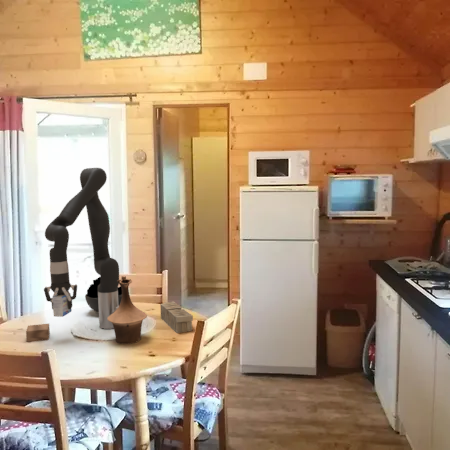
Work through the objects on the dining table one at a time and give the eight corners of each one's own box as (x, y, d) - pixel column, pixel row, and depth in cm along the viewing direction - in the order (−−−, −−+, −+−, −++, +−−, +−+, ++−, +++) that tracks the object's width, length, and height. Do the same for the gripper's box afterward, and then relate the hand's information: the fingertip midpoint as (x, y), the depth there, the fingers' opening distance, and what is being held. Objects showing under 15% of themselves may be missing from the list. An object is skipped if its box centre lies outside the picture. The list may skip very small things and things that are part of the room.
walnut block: (49, 334, 224) (49, 323, 223) (48, 340, 215) (48, 329, 215) (28, 336, 221) (28, 325, 221) (26, 342, 213) (26, 331, 212)
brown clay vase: (105, 336, 218) (102, 274, 215) (143, 331, 224) (141, 271, 222) (111, 349, 202) (108, 282, 199) (152, 343, 208) (149, 278, 205)
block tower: (160, 319, 246) (176, 334, 219) (159, 303, 246) (176, 316, 219) (175, 317, 249) (193, 332, 222) (174, 301, 249) (192, 313, 222)
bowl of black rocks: (117, 305, 271) (116, 272, 269) (130, 313, 254) (129, 278, 252) (81, 311, 260) (79, 276, 258) (92, 320, 243) (90, 283, 241)
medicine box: (62, 317, 209) (61, 297, 208) (53, 316, 209) (51, 296, 208) (71, 311, 216) (70, 292, 215) (62, 311, 217) (61, 292, 216)
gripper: (77, 268, 216) (80, 305, 218) (43, 270, 213) (46, 308, 215) (75, 271, 208) (78, 310, 210) (40, 274, 206) (43, 313, 208)
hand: (62, 309), depth 213 cm, fingers closed on medicine box, 5 cm apart
